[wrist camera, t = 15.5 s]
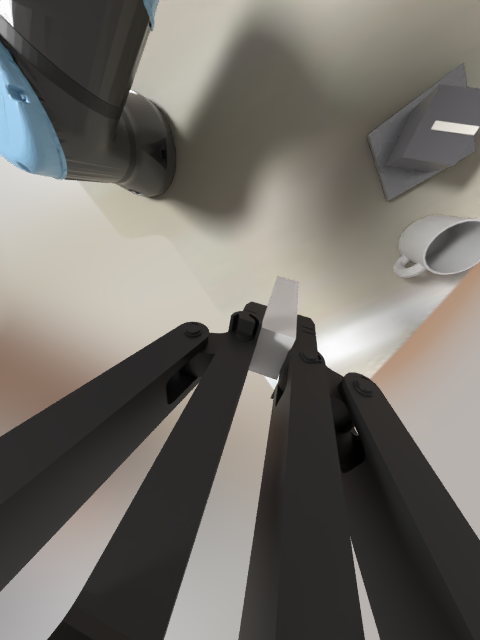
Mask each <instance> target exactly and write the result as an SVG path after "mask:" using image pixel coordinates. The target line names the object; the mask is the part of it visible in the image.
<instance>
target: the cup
mask: <svg viewBox="0 0 480 640" xmlns="http://www.w3.org/2000/svg"><path fill="white" fill-rule="evenodd" d="M398 249H399V252H400V253H401V255H402V256H401V257H400V258H399V259H398V260H397V261H396V262H395V264H394V265H393V270H394V273H395V274H396V275H397V276H400V277H404V278H410V277H413V276H416V275H418V274H420V273H422V272H424V271H425V270H429V271H431V272H432V273H436V274H440V275H449V274H455V273H459V272H462V271H465V270H467V269H469V268H471V267H473V266H475V265H476V264H478V263H479V262H480V219H478V218H466V217H455V216H444V215H432V216H426V217H423V218H421V219H419V220H417V221H415V222H413V223H412V224H411V225H409V226H408V227H407V228H406V229H405V230H404V232H403V233H402V235H401V236H400V239H399V242H398ZM409 261H412V262H414V263H416V264H415V265H414V266H412V267H409V268H406V267H405V265H406V264H407V263H408V262H409Z"/></svg>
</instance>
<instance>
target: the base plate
mask: <svg viewBox="0 0 480 640" xmlns="http://www.w3.org/2000/svg"><path fill="white" fill-rule="evenodd" d="M440 84H441V85H450V86H460V87H467V83H466V76H465V68H464V63H462V64H461V65H460V66H458V67H457V68H456V69H454V70H453V71H452V72H450V73H449V74H448V75H446V76H445V77H444V78H442V79H441V80H440V81H438V82H437V83H436V84H435V85H433V86H432V87H431V88H429V89H428V90H427V91H425V92H424V93H423V94H421V95H420V96H419V97H417V98H416V99H415V100H413V101H412V102H411V103H409V104H408V105H407V106H405V107H404V108H403V109H401V110H400V111H399V112H397V113H396V114H395V115H393V116H392V117H391V118H389V119H388V120H387V121H385V122H384V123H383V124H381V125H380V126H379V127H377V128H376V129H375V130H373V131H372V132H371V133H370V134H368V135H367V139H368V142H369V145H370V149H371V152H372V155H373V159H374V162H375V165H376V168H377V172H378V175H379V178H380V182H381V185H382V188H383V191H384V195H385V198H386V201H389V200H391V199H393V198H395V197H396V196H398V195H400V194H402V193H403V192H405V191H407V190H409V189H410V188H412V187H414V186H416V185H418V184H419V183H421V182H423V181H425V180H426V179H428V178H430V177H432V176H433V175H435V174H437V173H439V172H440V171H442V170H444V169H441V170H437V171H433V172H429V173H428V172H422V171H416V170H411V169H405V168H399V167H393V166H388V165H386V164H387V162H388V160H389V158H390V156H391V154H392V151H393V149H394V147H395V145H396V143H397V141H398V139H399V137H400V135H401V133H402V131H403V129H404V127H405V125H406V123H407V121H408V119H409V117H410V115H411V113H412V110H413V108H414V107H415V106H416V105H418V104H419V103H420V102H421V101H422V100H423V99H424V98H425V97H427V96H428V95H429V94H430V93H431V92H432V91H433V90H434V89H435V88H437V87H438V86H439V85H440ZM474 152H476V149H475V142H474V138H473V139H472V141H471V142H470V144H469V145H468V147H467V149H466V150H465V152H464V153H463V155H462V156H461V158H460V159H459V161H460V160H461V159H463V158H465V157H467V156H468V155H470V154H472V153H474ZM445 169H446V168H445Z"/></svg>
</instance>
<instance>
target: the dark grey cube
mask: <svg viewBox="0 0 480 640" xmlns="http://www.w3.org/2000/svg"><path fill="white" fill-rule="evenodd" d="M479 129H480V89H478V88H469V87H460V86H450V85H441V84H440V85H439V86H438V87H437V88H435V89H434V90H433V91H432V92H431V93H430V94H429V95H428V96H427V97H425V98H424V99H423V100H422V101H421V102H420V103H419V104H418V105H416V106H415V107H414V108H413V110H412V113H411V115H410V117H409V119H408V121H407V123H406V125H405V127H404V129H403V131H402V133H401V135H400V137H399V139H398V141H397V143H396V145H395V147H394V149H393V151H392V154H391V156H390V158H389V160H388V162H387V164H386V165H388V166H393V167H399V168H405V169H411V170H416V171H422V172H428V173H429V172H433V171H437V170H441V169H445V168H449V167H453V166H455V165H456V164H457V162H458V161H459V159H460V158H461V156H462V155H463V153H464V152H465V150H466V149H467V147H468V145H469V144H470V142H471V141H472V139H473V138H474V136H475V135H476V133H477V132H478V130H479Z"/></svg>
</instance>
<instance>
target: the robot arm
mask: <svg viewBox="0 0 480 640" xmlns="http://www.w3.org/2000/svg"><path fill="white" fill-rule="evenodd" d="M158 2H159V0H0V155H1V156H2V157H4V158H5V159H6V160H7V161H9V162H10V163H11V164H13V165H15V166H16V167H18V168H20V169H22V170H24V171H26V172H29V173H32V174H37V175H43V176H49V177H53V178H55V179H66V180H79V181H91V182H104V183H115V184H117V185H119V186H121V187H123V188H125V189H126V190H128V191H130V192H132V193H134V194H136V195H140V196H147V197H154V196H158V195H160V194H162V193H164V192H165V191H166V190H167V189H168V187H169V186H170V184H171V182H172V180H173V177H174V173H175V167H176V151H175V145H174V140H173V136H172V133H171V130H170V128H169V126H168V123H167V121H166V120H165V118H164V116H163V115H162V113H161V112H160V110H159V109H158V108H157V107H156V106H155V105H154V104H153V103H152V102H151V101H150V100H148V99H147V98H145V97H144V96H142V95H141V94H139V93H137V92H135V91H133V90H130V89H131V86H132V83H133V80H134V77H135V74H136V71H137V68H138V65H139V62H140V59H141V57H142V54H143V51H144V48H145V45H146V42H147V39H148V36H149V33H150V30H151V31H153V28H154V16H155V12H156V9H157V5H158ZM297 303H298V282H297V281H293V280H290V279H286V278H282V277H279V276H277V279H276V282H275V285H274V288H273V291H272V294H271V297H270V300H269V303H268V306H265V305H262V304H258V303H255V302H250V303H248V304H246V306H245V308H244V310H243V311H238V312H235V313H233V314H232V315H231V320H230V325H229V331H228V332H226V333H209V330H208V328H207V327H206V326H205V325H204V324H201V323H198V322H187V323H184V324H182V325H180V326H178V327H177V328H175V329H173V330H172V331H170V332H169V333H167V334H165V335H164V336H162V337H160V338H159V339H157V340H156V341H154V342H152V343H151V344H149V345H148V346H146V347H144V348H143V349H141V350H140V351H138V352H136V353H135V354H133V355H131V356H130V357H128V358H127V359H125V360H123V361H122V362H120V363H119V364H117V365H115V366H114V367H112V368H110V369H109V370H108V371H106V372H104V373H102V374H101V375H99V376H98V377H96V378H94V379H93V380H91V381H90V382H88V383H86V384H85V385H83V386H81V387H80V388H78V389H77V390H75V391H74V392H72V393H70V394H69V395H67V396H65V397H64V398H62V399H61V400H59V401H57V402H56V403H54V404H52V405H51V406H49V407H48V408H46V409H45V410H43V411H41V412H40V413H38V414H36V415H35V416H33V417H32V418H30V419H28V420H27V421H25V422H23V423H22V424H20V425H19V426H17V427H15V428H14V429H12V430H11V431H9V432H7V433H6V434H4V435H2V436H1V437H0V591H1V590H2V589H3V588H4V587H5V586H6V585H7V584H8V583H9V582H10V581H11V580H12V579H13V578H14V577H15V576H16V574H18V572H19V571H20V570H21V569H22V568H23V567H24V566H25V565H26V564H27V563H28V562H29V561H30V560H31V559H32V558H33V557H34V556H35V555H36V554H37V552H38V551H39V550H40V549H41V548H42V547H43V546H44V545H45V544H46V543H47V542H48V541H49V540H50V539H51V538H52V536H54V534H56V532H57V531H58V530H59V529H60V528H61V527H62V526H63V525H64V524H65V523H66V522H67V521H68V520H69V519H70V518H71V517H72V516H73V515H74V513H75V512H76V511H77V510H78V509H79V508H80V507H81V506H82V505H83V504H84V503H85V502H86V501H87V500H88V499H89V498H90V497H91V496H92V495H93V493H94V492H95V491H96V490H97V489H98V488H99V487H100V486H101V485H102V484H103V483H104V482H105V481H106V480H107V479H108V478H109V477H110V475H111V474H112V473H113V472H114V471H115V470H116V469H117V468H118V467H119V466H120V465H121V464H122V463H123V462H124V461H125V460H126V459H127V458H128V457H129V456H130V454H131V453H132V452H133V451H134V450H135V449H136V448H137V447H138V446H139V445H140V444H141V443H142V442H143V441H144V440H145V439H146V438H147V436H149V435H150V433H151V432H152V431H153V430H154V429H155V428H156V427H157V426H158V425H159V424H160V423H161V422H162V421H163V419H165V418H166V417H167V416H168V414H169V413H170V412H171V411H172V410H173V409H174V408H175V407H176V406H177V405H178V404H179V403H180V402H181V401H182V400H183V399H184V398H185V397H186V396H187V394H188V393H189V392H190V391H191V390H192V389H193V388H194V387H195V386H196V385H197V384H198V383H199V384H198V386H197V388H196V389H195V391H194V393H193V395H192V396H191V398H190V400H189V402H188V404H187V405H186V407H185V409H184V410H183V412H182V414H181V416H180V418H179V420H178V421H177V423H176V425H175V426H174V428H173V430H172V432H171V433H170V435H169V437H168V439H167V441H166V442H165V444H164V446H163V448H162V449H161V451H160V453H159V455H158V456H157V458H156V460H155V462H154V464H153V466H152V467H151V469H150V471H149V472H148V474H147V476H146V478H145V479H144V481H143V483H142V485H141V486H140V488H139V490H138V492H137V494H136V495H135V497H134V499H133V501H132V502H131V504H130V506H129V508H128V509H127V511H126V513H125V515H124V517H123V518H122V520H121V522H120V524H119V526H118V527H117V529H116V531H115V533H114V534H113V536H112V538H111V540H110V542H109V543H108V545H107V547H106V548H105V551H104V552H103V554H102V555H101V557H100V559H99V561H98V563H97V564H96V566H95V568H94V570H93V572H92V573H91V575H90V577H89V578H88V580H87V582H86V584H85V586H84V587H83V589H82V591H81V592H80V594H79V596H78V597H77V599H76V601H75V602H74V604H73V606H72V607H71V609H70V610H69V612H68V613H67V614H66V616H65V617H64V619H63V620H62V622H61V623H60V624H59V625H58V627H57V628H56V629H55V631H54V632H53V633H52V634H51V636H50V637H49V638H48V639H47V640H164V637H165V634H166V631H167V627H168V624H169V621H170V618H171V614H172V611H173V608H174V605H175V602H176V599H177V596H178V593H179V589H180V586H181V583H182V580H183V577H184V573H185V570H186V567H187V563H188V561H189V558H190V554H191V551H192V548H193V545H194V542H195V538H196V535H197V532H198V528H199V526H200V522H201V519H202V516H203V513H204V510H205V506H206V503H207V500H208V497H209V494H210V491H211V487H212V484H213V481H214V478H215V475H216V472H217V468H218V465H219V462H220V459H221V456H222V452H223V449H224V445H225V443H226V440H227V437H228V433H229V430H230V427H231V424H232V421H233V417H234V414H235V411H236V408H237V405H238V401H239V398H240V395H241V392H242V389H243V386H244V382H245V379H246V376H247V372H248V370H250V371H253V372H256V373H259V374H262V375H264V376H267V377H270V378H273V379H276V380H277V378H278V376H279V381H278V383H277V386H276V388H275V390H274V392H273V394H272V396H271V398H272V399H273V398H274V400H273V407H272V415H271V421H270V427H269V434H268V441H267V448H266V455H265V461H264V468H263V475H262V482H261V489H260V496H259V503H258V510H257V516H256V523H255V530H254V537H253V545H252V550H251V557H250V564H249V571H248V578H247V585H246V591H245V598H244V606H243V612H242V619H241V626H240V632H239V639H238V640H365V638H364V631H363V624H362V617H361V610H360V603H359V596H358V589H357V582H356V575H355V568H354V561H353V554H352V547H351V541H352V544H353V548H354V551H355V554H356V558H357V561H358V565H359V568H360V571H361V575H362V578H363V582H364V585H365V589H366V592H367V595H368V599H369V602H370V606H371V609H372V612H373V616H374V619H375V623H376V626H377V629H378V633H379V637H380V640H480V540H479V539H478V537H477V535H476V534H475V532H474V531H473V529H472V528H471V526H470V525H469V523H468V522H467V520H466V519H465V517H464V516H463V514H462V513H461V511H460V510H459V508H458V507H457V505H456V504H455V502H454V501H453V499H452V498H451V496H450V495H449V493H448V492H447V490H446V489H445V487H444V486H443V484H442V482H441V481H440V479H439V478H438V476H437V475H436V474H435V472H434V470H433V469H432V468H431V466H430V464H429V463H428V461H427V460H426V458H425V457H424V455H423V454H422V452H421V451H420V449H419V448H418V446H417V445H416V443H415V442H414V440H413V438H412V437H411V435H410V434H409V432H408V431H407V429H406V428H405V426H404V425H403V424H402V422H401V420H400V419H399V417H398V416H397V414H396V413H395V411H394V410H393V408H392V407H391V405H390V404H389V402H388V401H387V399H386V398H385V396H384V395H383V393H382V392H381V390H380V389H379V388H378V386H377V385H376V384H375V383H373V382H372V381H371V380H370V379H369V378H367V377H365V376H363V375H362V374H358V373H348V374H346V375H345V376H344V377H343V376H341V375H340V374H338V373H336V372H334V371H332V370H331V369H329V368H328V367H327V366H326V365H325V360H324V358H323V356H322V355H321V354H320V353H319V352H318V351H317V342H316V336H315V335H316V332H315V324H314V323H313V321H312V320H311V318H308V317H304V316H301V315H297ZM354 427H355V428H356V430H357V432H358V434H359V435H358V434H357V432H356V431H355V429H354ZM350 537H351V540H350Z"/></svg>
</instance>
